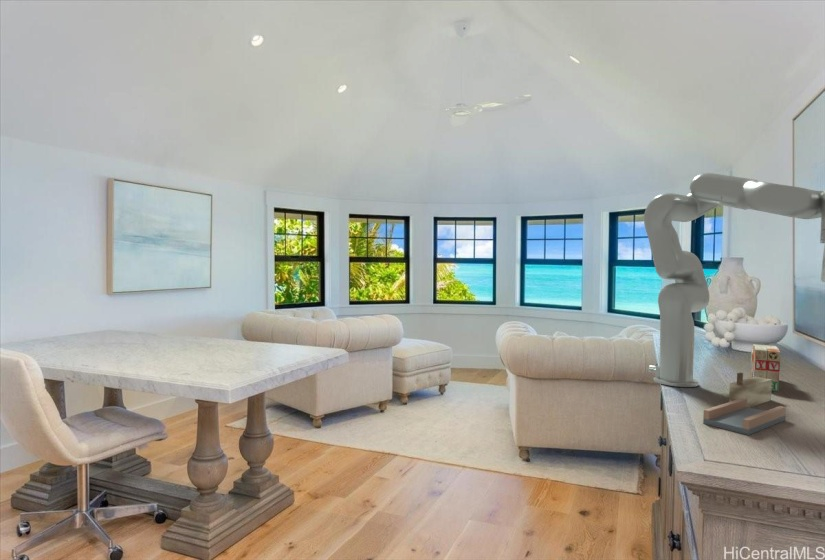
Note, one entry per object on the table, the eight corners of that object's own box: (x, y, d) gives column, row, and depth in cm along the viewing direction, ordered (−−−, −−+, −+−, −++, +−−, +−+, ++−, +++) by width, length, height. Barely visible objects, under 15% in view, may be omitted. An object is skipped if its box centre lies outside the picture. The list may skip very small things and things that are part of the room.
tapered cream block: (728, 405, 132) (730, 372, 132) (754, 397, 142) (755, 366, 141) (745, 409, 129) (746, 375, 129) (770, 400, 138) (772, 368, 138)
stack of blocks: (749, 376, 170) (751, 340, 169) (772, 378, 166) (773, 342, 166) (753, 389, 151) (755, 348, 151) (779, 392, 148) (780, 351, 148)
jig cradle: (703, 423, 116) (703, 409, 116) (741, 410, 127) (742, 398, 127) (748, 435, 108) (749, 420, 108) (785, 420, 119) (785, 407, 119)
